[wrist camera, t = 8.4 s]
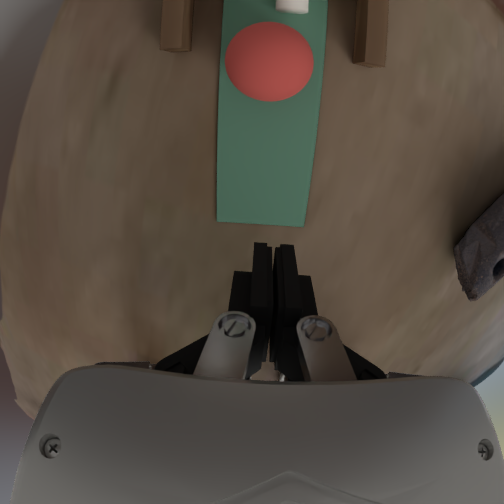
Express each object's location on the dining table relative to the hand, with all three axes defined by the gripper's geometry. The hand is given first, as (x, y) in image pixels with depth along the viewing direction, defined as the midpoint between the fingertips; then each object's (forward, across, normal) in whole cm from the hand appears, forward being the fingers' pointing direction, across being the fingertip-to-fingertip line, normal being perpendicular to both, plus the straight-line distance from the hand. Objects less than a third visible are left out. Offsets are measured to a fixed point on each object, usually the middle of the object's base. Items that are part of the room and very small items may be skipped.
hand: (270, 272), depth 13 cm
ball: (+11, +1, -10) cm, 14 cm away
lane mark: (+14, 0, -10) cm, 17 cm away
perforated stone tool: (+14, -26, +2) cm, 30 cm away
